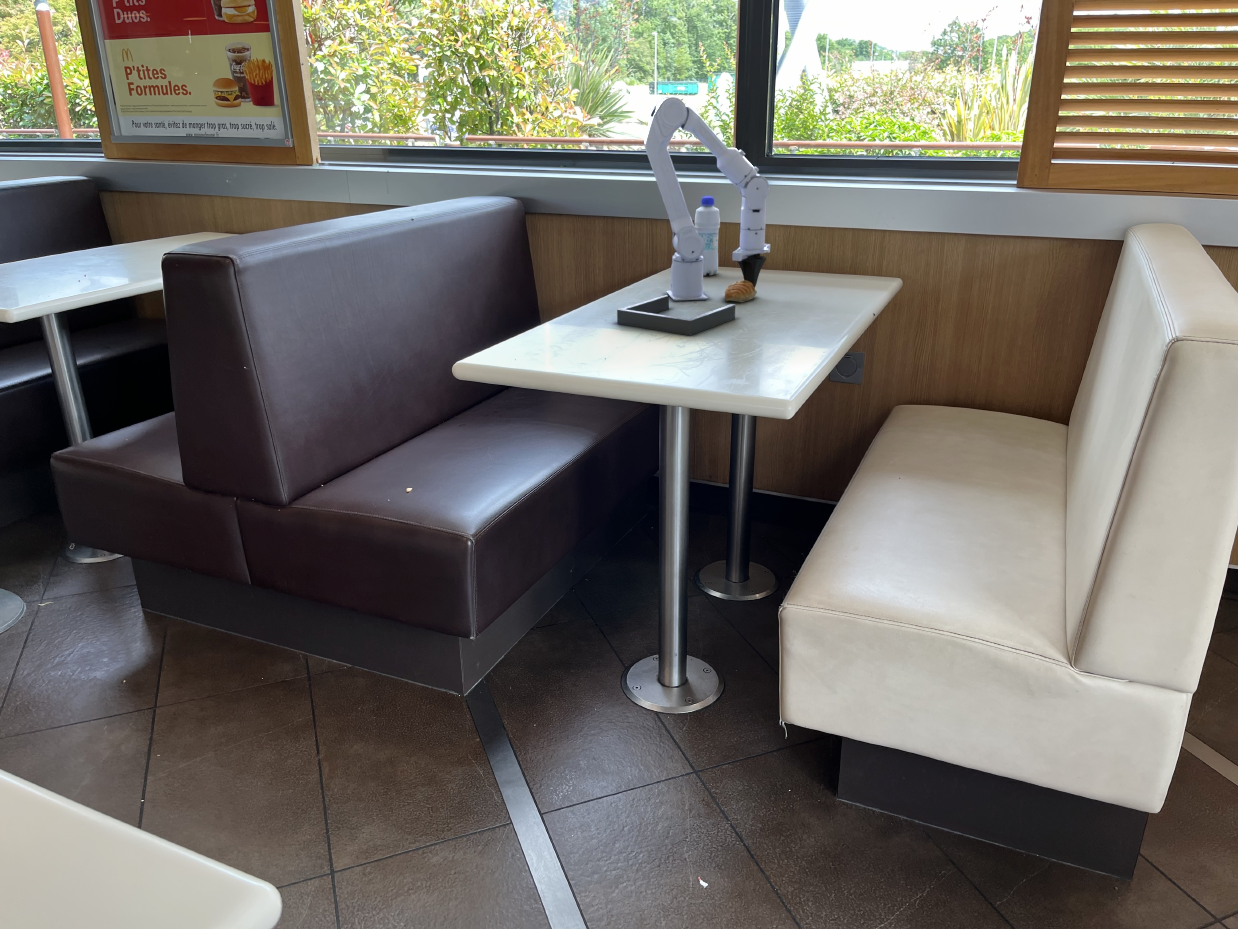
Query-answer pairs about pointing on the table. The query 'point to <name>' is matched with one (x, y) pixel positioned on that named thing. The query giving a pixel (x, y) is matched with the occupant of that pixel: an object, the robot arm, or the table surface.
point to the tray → (647, 318)
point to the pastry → (740, 291)
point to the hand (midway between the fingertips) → (750, 287)
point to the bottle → (708, 233)
